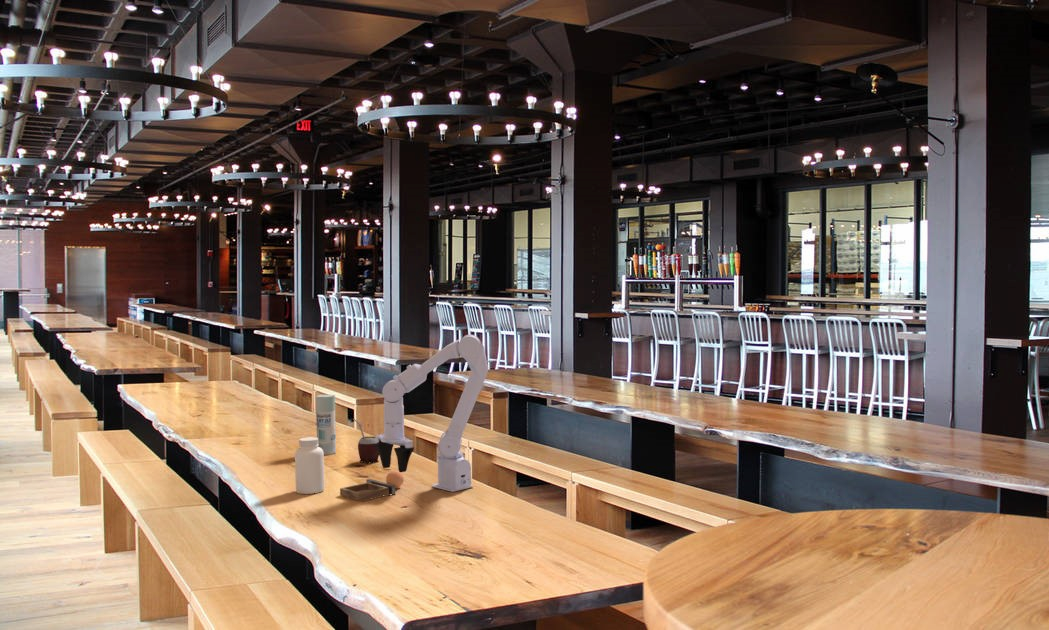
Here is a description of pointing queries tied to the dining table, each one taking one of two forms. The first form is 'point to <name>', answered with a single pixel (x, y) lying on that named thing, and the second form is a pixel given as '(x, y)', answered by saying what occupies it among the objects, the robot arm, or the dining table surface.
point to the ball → (395, 478)
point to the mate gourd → (367, 448)
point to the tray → (364, 491)
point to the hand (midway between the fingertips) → (394, 469)
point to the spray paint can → (326, 423)
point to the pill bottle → (309, 466)
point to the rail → (390, 486)
